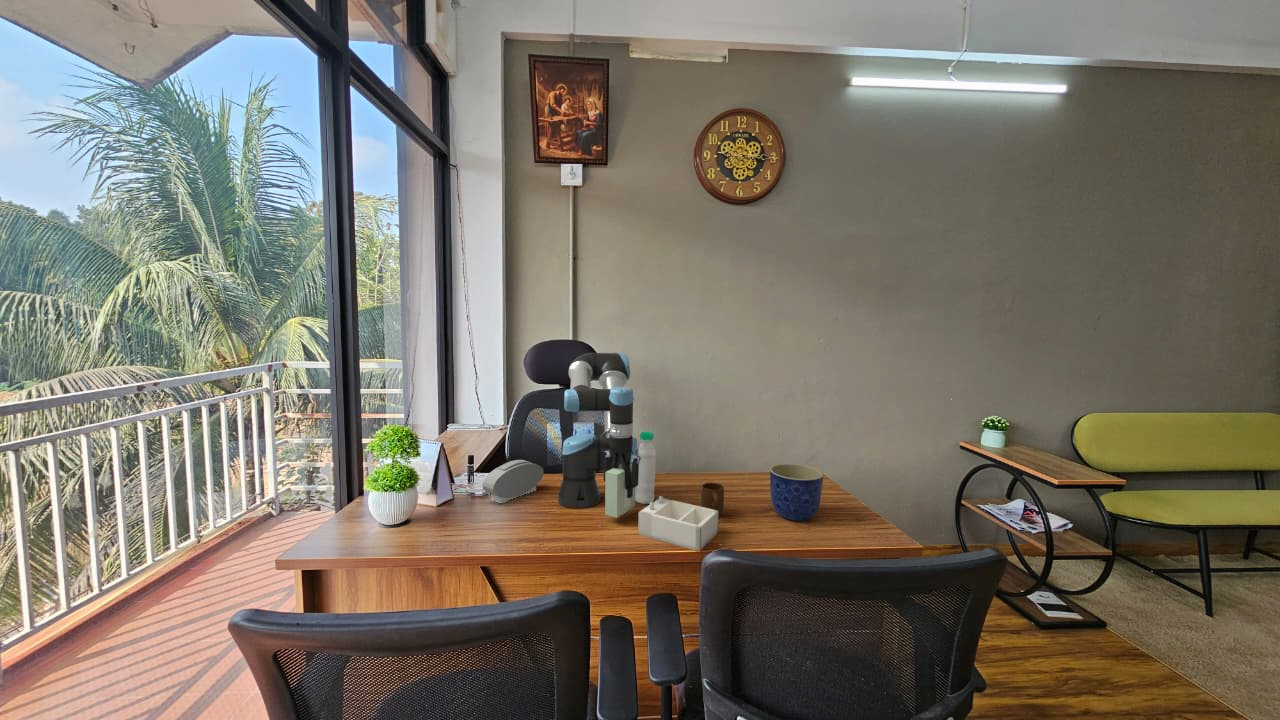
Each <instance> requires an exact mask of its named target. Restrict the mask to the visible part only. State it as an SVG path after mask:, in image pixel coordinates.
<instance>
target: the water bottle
mask: <svg viewBox="0 0 1280 720" xmlns="http://www.w3.org/2000/svg"><path fill="white" fill-rule="evenodd" d="M654 435H655V434H654V432H652V431H646V430H645V431H641V432H640V435H639V439H640V444H639V445H638V446H637V453H636V457H638V456H639V457H640V458H641V459H640V462H639V476H638V486H636V487H635V503H636V502H637V503H639V504H643V505H646V504H647V505H648V504H649V505H650V502H655V501H654V500H655V485H656V484H655V479H656V478H655V477H656V465H657V464H656V463H657V462H656V456H657V451H656V449H655V446H654V444H653V441H654Z"/></svg>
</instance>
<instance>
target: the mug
mask: <svg viewBox="0 0 1280 720" xmlns="http://www.w3.org/2000/svg"><path fill="white" fill-rule="evenodd" d="M700 490H701V492H700V494H701V495H700V507H704V508H709V509H713V510H718V518H719V517H722V516H723V515H724V508H725V506H724V504H725V487H724V485H723V484H720V483H717V482H705V483H702V485H701V489H700Z"/></svg>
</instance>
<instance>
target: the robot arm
mask: <svg viewBox="0 0 1280 720" xmlns="http://www.w3.org/2000/svg"><path fill="white" fill-rule="evenodd" d="M629 361H630V360H629V357H628V355H627V354H626V353H624V352H588V353H584V354H581V355H579V356H577V357H576V358H575V359H573V360H572V361H571V362H570V364H569V367H568V376H569V379H570V388H569V389H566V390H564V396H563V397H564V401H563V402H564V406H563V407H564V410H565V412H574V413H581V412H583V413H584V412H603V419H604V431H603V432H602V433H601V435H600V438H597V437H596V435H595V434H593V433H581V434H576V435H572V436H569V437H567V438H566V439H565V440H564V441H563V444H562V452H561V453H562V482H561V484H560V487H559V491H558V494H557V502H558V504H559V505H560V506H563V507H565V508H569V509H570V508H571V509H585V508H591V507H593V506H596V505H597V504H599V503H600V502H601V492H600V489H599V486H598V482H597V480H596V479H597V478H596V473H600V472H601V473H603V482H605V472H607V471H609V470H611V469H613V468H614V469H615V468H617V467H618V466H619V465H622V468H623V471H625V482H626V488H624V508H628V507H629V506H631V497H632V496H633V488H634V487H636V486H638V476H639V462H640V459H641V458H640V457H639V456H638V457H637V455H636V453H637V449H638V438H636V437H633V435H634V419H633V417H634V399H635V398H634V390H633V389H632V388H631V387H628V386H625V385H626V384H627V381H629V380H630V377H631V370H630V369H631V368H630V362H629ZM592 381H598V383H599V385H600V386H601V387H602V388H596V389H595V388H592ZM631 464H632V471H631V469H630V465H631Z"/></svg>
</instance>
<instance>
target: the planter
mask: <svg viewBox="0 0 1280 720" xmlns="http://www.w3.org/2000/svg"><path fill="white" fill-rule="evenodd" d="M824 476H825V475H824V472H823V471H821V470H820V469H818V468H816V467H813V466H809V465H804V464H800V463H799V464H798V463H778V464H774V465H772V466H770V468H769V485H770V486H769V487H770V488H769V489H770V502H771V505H772V508H773V509H774V511H775V513H777V514H778V515H779V516H780V517H783V518H784V519H786V520H790V521H795V522H796V521H798V522H800V521H801V522H803V521H808V520H811V519H813V517H815V516H816V514H818V511H819V509H820V506H821V498H822V491H823V484H824Z"/></svg>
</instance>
